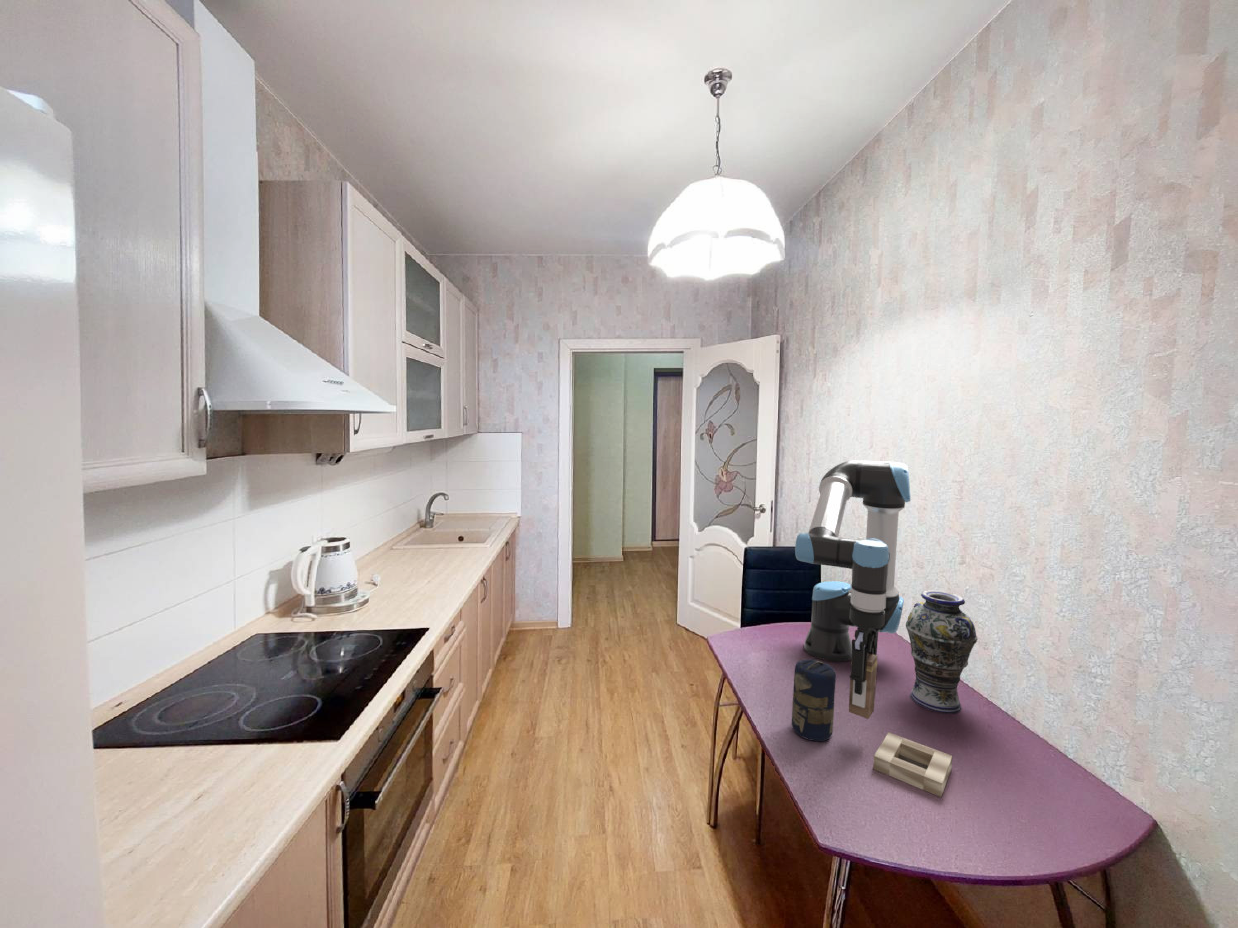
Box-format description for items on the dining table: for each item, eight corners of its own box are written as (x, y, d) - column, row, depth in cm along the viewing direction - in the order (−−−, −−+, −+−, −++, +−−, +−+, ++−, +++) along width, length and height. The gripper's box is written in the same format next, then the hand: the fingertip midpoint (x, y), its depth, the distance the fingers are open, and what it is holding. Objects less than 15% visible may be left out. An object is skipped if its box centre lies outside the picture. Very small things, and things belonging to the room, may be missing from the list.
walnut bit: (854, 703, 129) (857, 649, 128) (874, 710, 126) (877, 655, 125) (848, 711, 126) (851, 656, 124) (868, 719, 123) (872, 662, 121)
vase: (943, 724, 134) (952, 610, 131) (886, 691, 149) (893, 589, 147) (987, 712, 140) (996, 602, 137) (927, 682, 156) (934, 583, 153)
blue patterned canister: (783, 725, 132) (786, 656, 130) (814, 718, 135) (817, 651, 134) (808, 747, 123) (812, 673, 121) (841, 740, 126) (845, 668, 125)
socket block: (887, 744, 125) (888, 732, 125) (951, 768, 116) (952, 755, 116) (873, 768, 116) (873, 755, 116) (941, 797, 107) (942, 783, 107)
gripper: (862, 593, 133) (856, 681, 135) (838, 613, 119) (833, 710, 122) (894, 600, 128) (888, 691, 130) (873, 622, 114) (867, 723, 117)
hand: (861, 700), depth 126 cm, fingers closed on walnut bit, 4 cm apart
